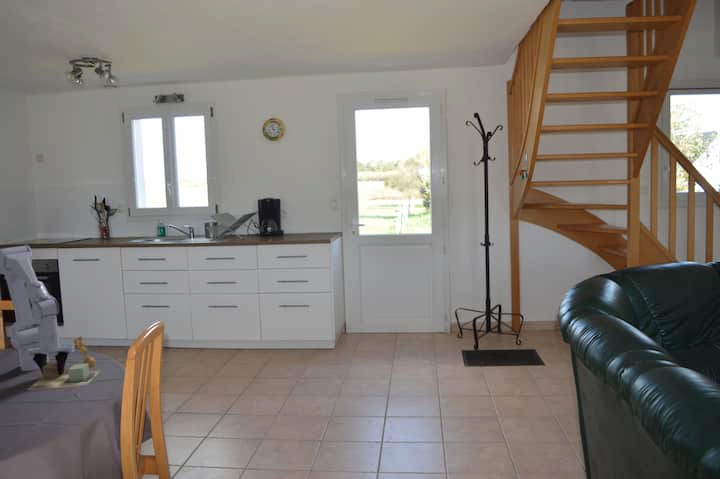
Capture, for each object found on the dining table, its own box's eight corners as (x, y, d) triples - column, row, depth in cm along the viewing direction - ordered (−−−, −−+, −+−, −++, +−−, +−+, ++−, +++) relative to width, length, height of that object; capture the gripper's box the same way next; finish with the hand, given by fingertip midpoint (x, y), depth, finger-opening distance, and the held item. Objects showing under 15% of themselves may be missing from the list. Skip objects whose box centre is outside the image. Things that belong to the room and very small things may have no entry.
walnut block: (49, 373, 182) (48, 362, 182) (63, 372, 183) (62, 361, 182) (43, 379, 178) (42, 367, 177) (57, 378, 178) (56, 366, 178)
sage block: (75, 375, 179) (74, 364, 179) (89, 374, 180) (88, 363, 179) (69, 381, 175) (68, 369, 174) (84, 380, 175) (82, 368, 175)
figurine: (95, 371, 187) (91, 337, 185) (76, 374, 184) (72, 340, 183) (96, 363, 194) (93, 331, 192) (78, 366, 192) (74, 334, 190)
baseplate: (47, 376, 183) (46, 373, 183) (102, 372, 185) (102, 368, 185) (26, 393, 169) (26, 389, 169) (86, 389, 171) (85, 385, 171)
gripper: (19, 340, 174) (24, 380, 176) (66, 337, 175) (71, 377, 177) (30, 333, 181) (35, 372, 183) (75, 330, 182) (79, 369, 184)
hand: (53, 374), depth 180 cm, fingers closed on walnut block, 4 cm apart
